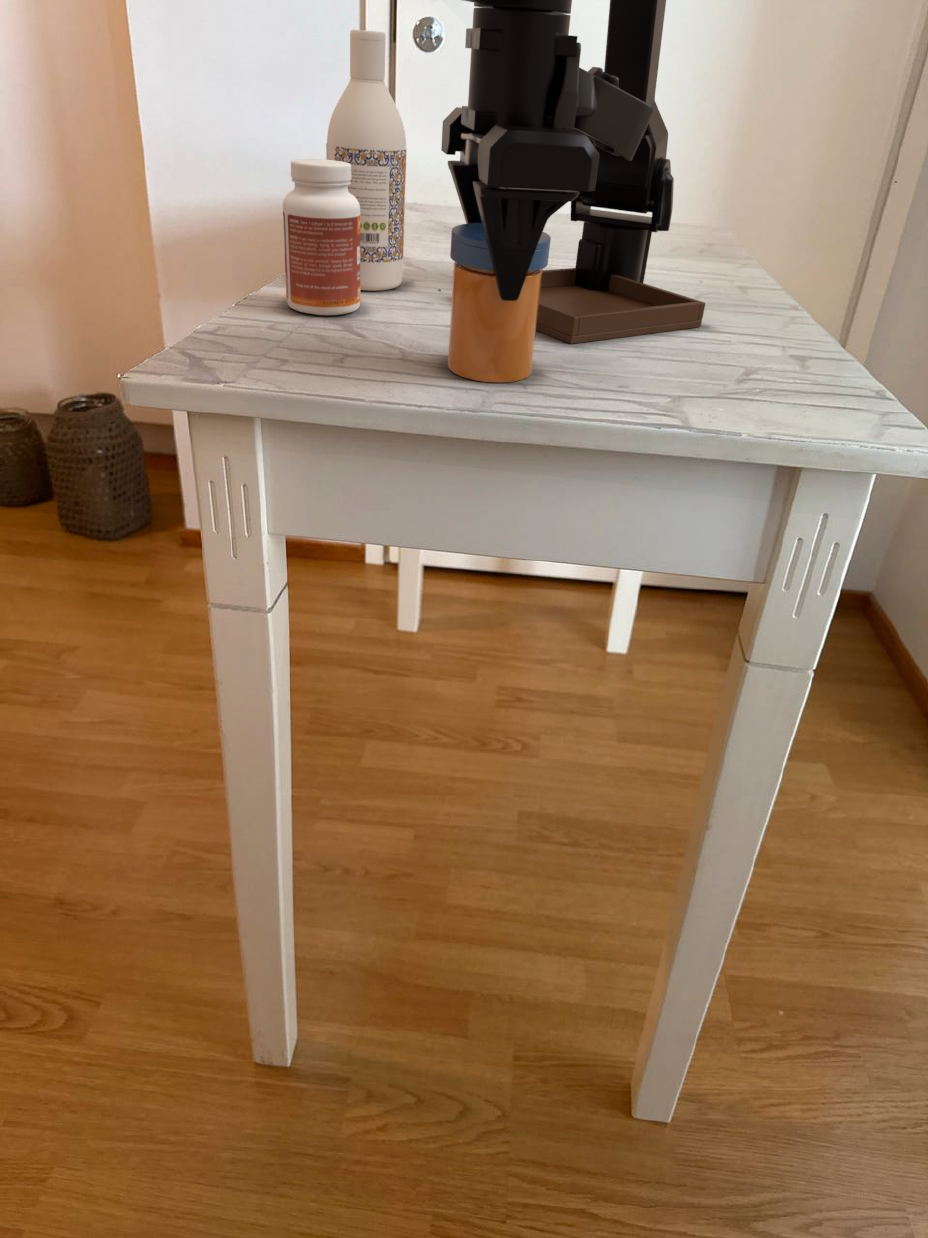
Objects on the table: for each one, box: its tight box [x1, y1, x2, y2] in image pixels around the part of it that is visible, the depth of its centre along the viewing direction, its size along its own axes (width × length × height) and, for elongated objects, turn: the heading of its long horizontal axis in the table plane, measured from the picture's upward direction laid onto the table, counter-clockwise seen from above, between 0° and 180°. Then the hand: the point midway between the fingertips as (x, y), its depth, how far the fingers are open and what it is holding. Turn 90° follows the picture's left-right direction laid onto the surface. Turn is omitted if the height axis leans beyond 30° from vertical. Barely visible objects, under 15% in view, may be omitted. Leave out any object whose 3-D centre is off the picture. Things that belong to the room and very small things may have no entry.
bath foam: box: [325, 29, 407, 292], centre depth 79 cm, size 7×7×20 cm
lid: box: [449, 223, 552, 272], centre depth 59 cm, size 7×6×2 cm
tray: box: [536, 267, 706, 345], centre depth 80 cm, size 15×15×2 cm
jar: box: [447, 261, 544, 384], centre depth 62 cm, size 6×6×8 cm
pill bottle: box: [282, 158, 361, 316], centre depth 73 cm, size 6×6×11 cm
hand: (499, 288), depth 61 cm, fingers closed on lid, 6 cm apart
